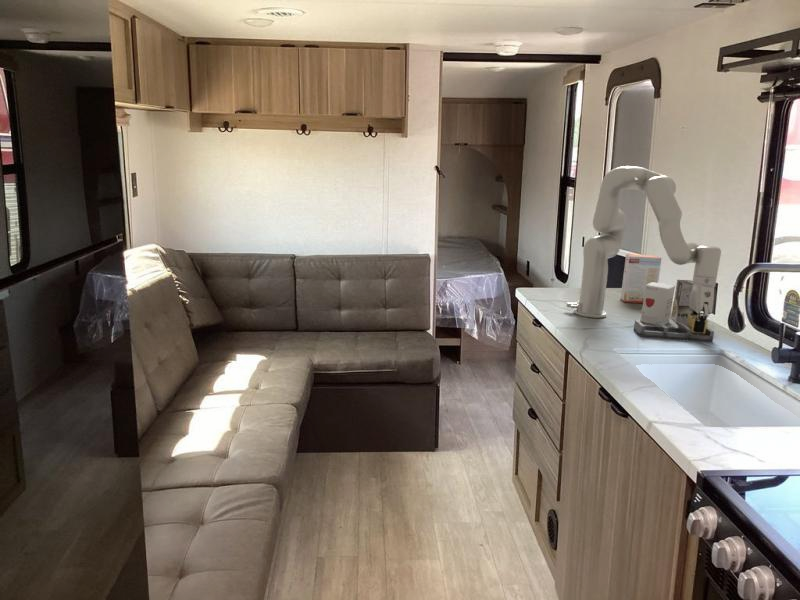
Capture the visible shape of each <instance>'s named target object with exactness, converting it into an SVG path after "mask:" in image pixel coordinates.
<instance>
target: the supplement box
mask: <svg viewBox="0 0 800 600" xmlns="http://www.w3.org/2000/svg"><path fill="white" fill-rule="evenodd" d="M675 291H676V285H671V284H666V283H660V282H658V283H655V282H651V283H649V284H647V285H646V287H645V294H644V300H643V303H642V307H641V313H640V319H639V321H640V322H641V323H645V324H650V325H653V326H656V322H657V321H659V322H662V323H663V324H664V325H665V326H666V325H668V323H670V317H671V314H672V313H671V311H672V308H673V306H672V305H673V302H674V296H675Z"/></svg>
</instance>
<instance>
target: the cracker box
mask: <svg viewBox="0 0 800 600" xmlns="http://www.w3.org/2000/svg"><path fill="white" fill-rule="evenodd" d="M661 264H662V257H660V256H658V255H648V254H625V262H624V267H623V268H624V270H623V277H622V284H621V285H622V286H621V292H620V300H621V301H622V302H623V303H632V304H633V303H634V304H637V303H638V304H643V300H644V294H645V287H646V285H647V284H649V283H651V282H655V283H659V280H660V279H659V278H660V272H661V267H662V266H661Z"/></svg>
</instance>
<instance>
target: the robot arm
mask: <svg viewBox="0 0 800 600" xmlns="http://www.w3.org/2000/svg"><path fill="white" fill-rule="evenodd" d="M599 188H600V189H599V195H598V199H597V201H596V206H595V211H594V214H593V215H594V216H593V219H592V226H593V229H594V230H595V231H596V232H597V233H600V234H599V235H596V236H593V237H590V238H589V239H588V240H587V241H586V242H585V243H584V246H583V255H582V256H583V267H582V277H581V284H580V293H579V299H578V300H577V301H576V302H566V308H570V309H574V310H573V313H574V314H575V315H578V316H581V317H585V318H593V319H601V318H606V317H607V312H606V311H604V306H605V298H606V290H607V285H608V284H607V282H608V275H609V261H608V259H610V258H611V259H612V258H615V257H616V256H617V255H618V253H619V252H620V250H621V247H622V243H623V240H624V235H625V230H626V227H627V226H626V225H627V217H626V214H625V213H624V211H623V210H621V208H620V206H621V203H622V198H623V197H622V196H623V195H622V192H623V191H624V190H637V191H640V192H642V193H644V194H645V196H646V198H647V200H648V202H649V205H650V206H651V209H652V211H653V213H654V216H655V218H656V220H657V222H658V232H659V237H660V241H661V244H662V246H663V248H664V251H665V252H666V254H667V256H668V259H669V260H670V261H671V262H672V263H674V264H675V265H677V266H678V265H679V266H681V265H682V266H683V265H687V264H693V263H694V269H693V275H692V276H693V277H692V280H691V281H692V284H693V288H692V292H691V297H690V304H689V306H690V308H691V310H690V311H691V313H690V315H691V316H692V315H697V321H696V322H695V328H694V332H700V333H703V332H704V327H705V322H706V319H707V320H708V317H709V316H710V315H711V314H712V313H713V307H714V300H715V287H716V283H717V278H718V272H719V267H720V263H721V262H720V261H721V256H722V250H721V248H720V247H719V246H713V245H703V244H698V243H696V242H693V241H691V242H690V241H687V242H686V240H685V238H684V235H683V233H682V229H681V220H682V216H683V213H682V209H681V208H680V205H679V203H678V201H677V199H676V197H675V193H676V191H677V184H676V182H675V181H674V179H673V178H671V177H670V176H667V175H664V174H662V173H659V172H656V171H653V170H649V169H647V168H645V167H641V166H634V165H633V166H632V165H631V166H630V165H626V166H624V165H623V166H619V167H616V168H613V169H612V170H611V169H610V171H608V172H607V173H606V174H605V175H604V177H603V179H602V182H601V185H600V187H599ZM700 315H701V317H700Z"/></svg>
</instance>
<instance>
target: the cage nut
mask: <svg viewBox="0 0 800 600" xmlns="http://www.w3.org/2000/svg"><path fill="white" fill-rule="evenodd" d="M700 317H701V315H700ZM696 321H697V315H692V316H691V315H688V321H687V324H686V326H687V327H688V328H690V329H691V330H692V331H691V332H693V333H700V332H694V328H695V322H696ZM708 321H709V319H708V318H707V319H706V322H705V327H704V332H703V333H706V328H707V327H708Z"/></svg>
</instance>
